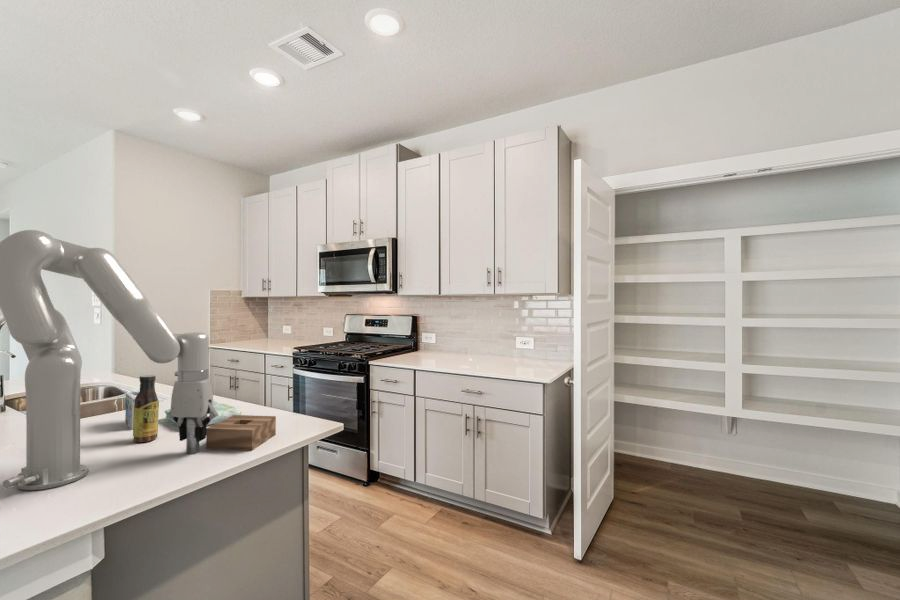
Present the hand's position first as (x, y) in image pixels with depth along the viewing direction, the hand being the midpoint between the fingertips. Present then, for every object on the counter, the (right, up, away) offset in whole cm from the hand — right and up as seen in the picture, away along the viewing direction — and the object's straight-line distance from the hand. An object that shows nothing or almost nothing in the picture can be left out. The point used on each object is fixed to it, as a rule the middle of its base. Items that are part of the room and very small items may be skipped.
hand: (192, 438), depth 120 cm
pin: (0, -4, 0) cm, 4 cm away
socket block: (+10, -4, +9) cm, 14 cm away
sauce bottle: (-20, -4, +10) cm, 23 cm away
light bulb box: (-33, -4, +24) cm, 42 cm away
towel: (-16, -4, +31) cm, 35 cm away
